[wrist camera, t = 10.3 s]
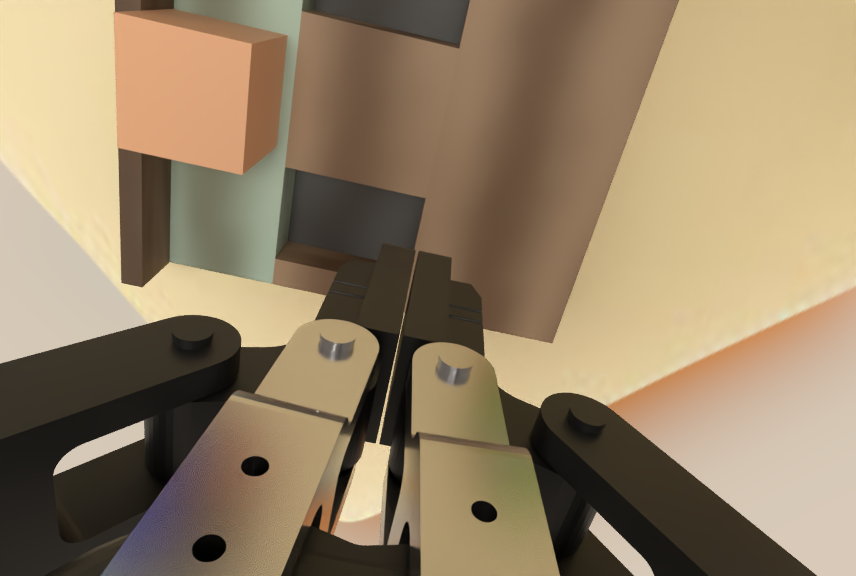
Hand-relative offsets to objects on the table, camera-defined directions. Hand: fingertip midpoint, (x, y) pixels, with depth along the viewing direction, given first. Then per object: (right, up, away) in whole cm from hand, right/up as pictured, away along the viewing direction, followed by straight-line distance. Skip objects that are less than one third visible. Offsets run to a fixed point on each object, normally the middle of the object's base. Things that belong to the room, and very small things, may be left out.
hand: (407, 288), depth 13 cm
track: (-1, +9, +17) cm, 20 cm away
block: (-9, +9, +14) cm, 19 cm away
